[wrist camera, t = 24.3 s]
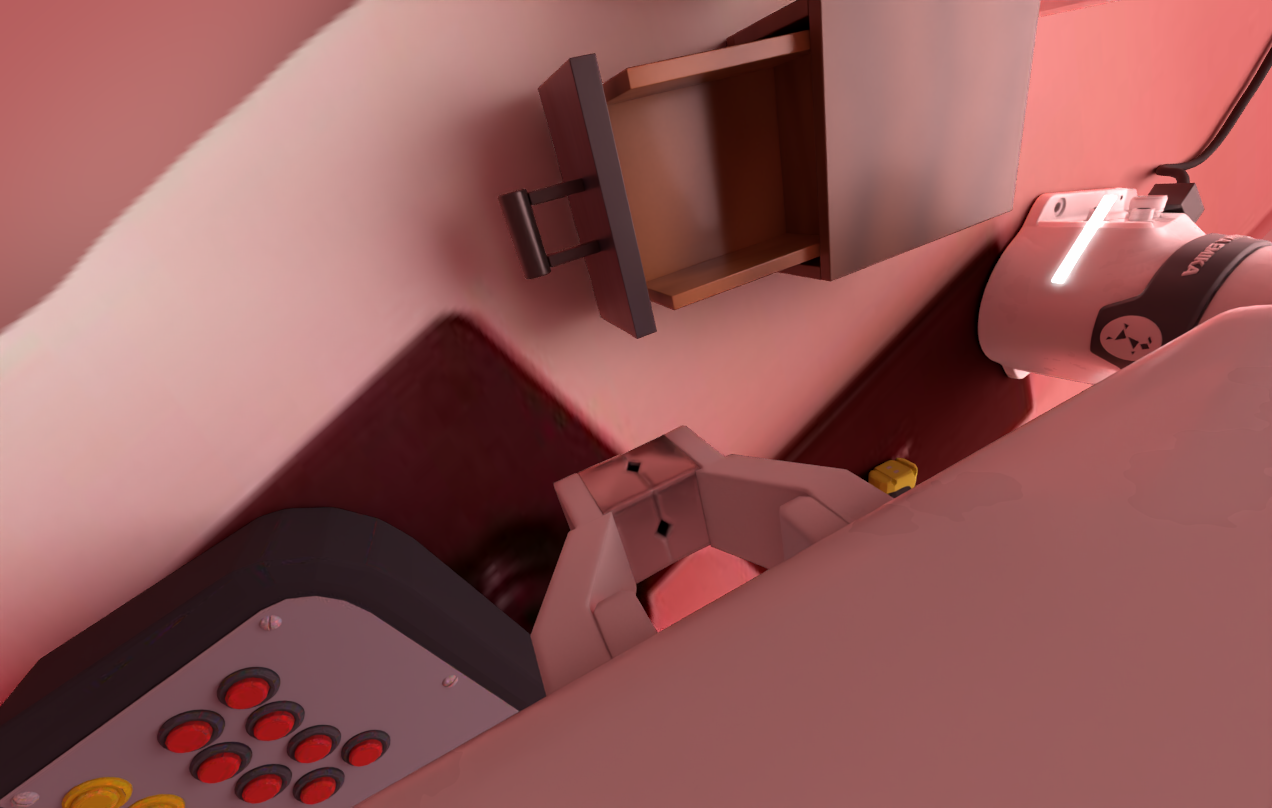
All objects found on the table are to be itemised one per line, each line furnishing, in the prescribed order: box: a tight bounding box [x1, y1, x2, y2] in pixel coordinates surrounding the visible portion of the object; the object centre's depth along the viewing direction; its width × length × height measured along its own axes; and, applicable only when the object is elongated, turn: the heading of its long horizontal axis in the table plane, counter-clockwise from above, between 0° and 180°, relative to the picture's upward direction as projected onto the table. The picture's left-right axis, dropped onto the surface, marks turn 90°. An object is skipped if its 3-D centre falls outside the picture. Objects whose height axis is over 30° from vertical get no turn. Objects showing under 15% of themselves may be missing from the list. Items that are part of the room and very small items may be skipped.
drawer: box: [498, 30, 820, 339], centre depth 26 cm, size 19×12×6 cm, turn 103°
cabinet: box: [727, 0, 1041, 281], centre depth 30 cm, size 16×14×8 cm
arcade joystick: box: [0, 507, 546, 808], centre depth 29 cm, size 28×19×10 cm
